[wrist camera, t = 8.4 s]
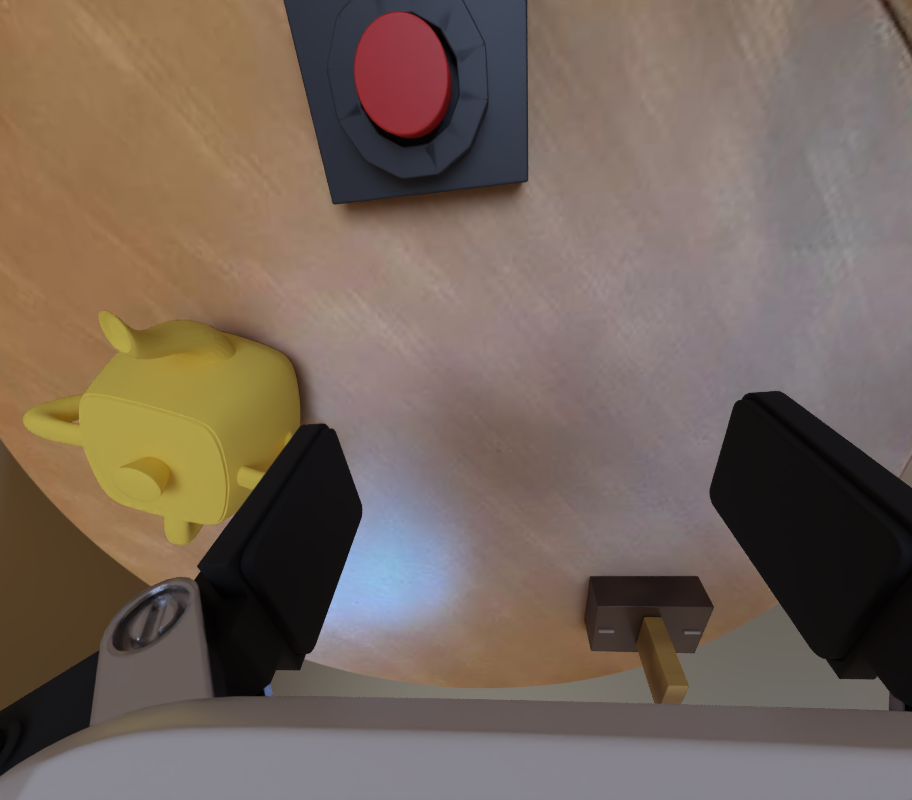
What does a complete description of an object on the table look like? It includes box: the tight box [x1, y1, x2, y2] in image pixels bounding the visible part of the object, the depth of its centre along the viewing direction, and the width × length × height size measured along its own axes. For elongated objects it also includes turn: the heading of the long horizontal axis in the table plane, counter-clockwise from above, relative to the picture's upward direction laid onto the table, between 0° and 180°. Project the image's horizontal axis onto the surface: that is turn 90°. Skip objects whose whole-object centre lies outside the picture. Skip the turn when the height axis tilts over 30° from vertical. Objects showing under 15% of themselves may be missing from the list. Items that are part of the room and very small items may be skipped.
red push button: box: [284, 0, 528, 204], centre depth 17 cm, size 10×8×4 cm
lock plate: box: [585, 577, 714, 653], centre depth 37 cm, size 10×8×3 cm
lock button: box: [354, 11, 452, 139], centre depth 15 cm, size 4×4×2 cm
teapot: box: [23, 311, 300, 545], centre depth 24 cm, size 14×13×10 cm
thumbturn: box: [636, 617, 689, 704], centre depth 34 cm, size 5×2×6 cm, turn 6°
